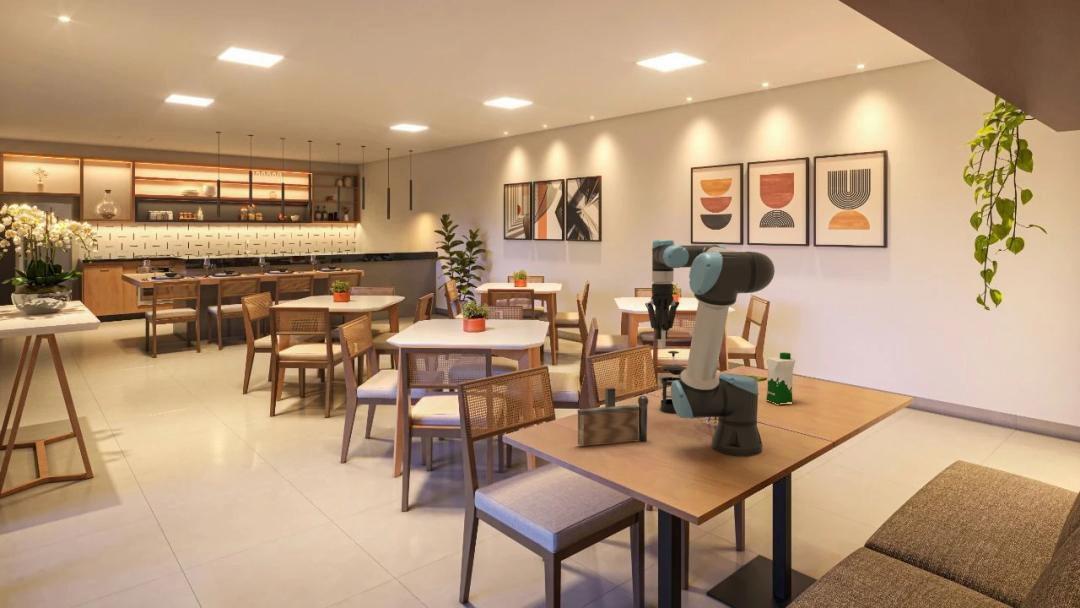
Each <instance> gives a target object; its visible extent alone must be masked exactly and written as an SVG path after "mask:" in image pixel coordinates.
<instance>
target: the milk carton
mask: <svg viewBox="0 0 1080 608" xmlns="http://www.w3.org/2000/svg"><path fill="white" fill-rule="evenodd" d="M791 357H792V355H791V353H790V352H780V353H779V356H772V357H766V363H767V393H766V400H769V401H771V402H774V403H776V404H780V403H787V402H792V403H793V375H794V374H793V373H794V367H795V364H796V359H792V358H791ZM766 400H765V401H766Z"/></svg>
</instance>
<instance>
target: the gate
mask: <svg viewBox="0 0 1080 608" xmlns="http://www.w3.org/2000/svg"><path fill="white" fill-rule="evenodd" d="M638 422H639V405H637V404H630V405H629V404H627V405H618V406H617V405H615V407H605V406H604V407H593V408H581V409H577V445H578V446H580V447H581V446H582V447H583V446H591V445H601V444H602V445H603V444H612V443H623V442H633V441H638Z"/></svg>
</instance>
